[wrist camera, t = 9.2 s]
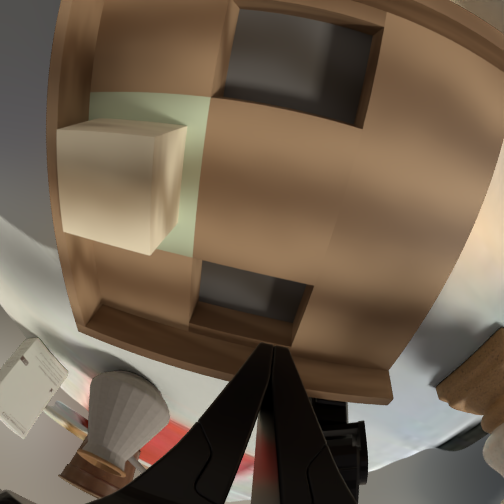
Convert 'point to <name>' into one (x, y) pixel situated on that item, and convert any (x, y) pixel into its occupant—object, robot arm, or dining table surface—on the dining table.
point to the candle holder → (482, 394)
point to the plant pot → (96, 476)
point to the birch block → (120, 181)
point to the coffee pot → (122, 420)
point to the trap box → (284, 175)
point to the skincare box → (28, 385)
